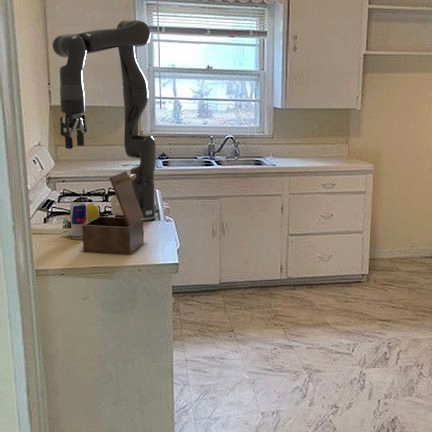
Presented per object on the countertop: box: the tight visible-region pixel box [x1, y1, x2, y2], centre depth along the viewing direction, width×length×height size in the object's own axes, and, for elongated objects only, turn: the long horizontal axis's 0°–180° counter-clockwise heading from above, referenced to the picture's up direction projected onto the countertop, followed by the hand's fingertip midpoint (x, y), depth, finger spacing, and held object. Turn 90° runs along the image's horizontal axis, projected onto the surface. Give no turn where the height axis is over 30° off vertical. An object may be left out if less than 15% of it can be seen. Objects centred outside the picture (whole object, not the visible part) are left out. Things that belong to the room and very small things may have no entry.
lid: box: [108, 170, 144, 227], centre depth 186 cm, size 16×13×5 cm
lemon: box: [86, 202, 100, 222], centre depth 219 cm, size 6×6×8 cm
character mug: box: [110, 194, 125, 218], centre depth 209 cm, size 11×7×13 cm, turn 176°
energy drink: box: [69, 202, 88, 240], centre depth 199 cm, size 5×5×12 cm
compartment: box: [82, 215, 145, 255], centre depth 190 cm, size 16×13×9 cm
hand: (75, 147), depth 193 cm, fingers open, 8 cm apart
